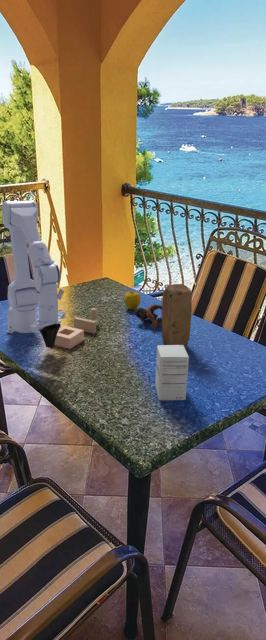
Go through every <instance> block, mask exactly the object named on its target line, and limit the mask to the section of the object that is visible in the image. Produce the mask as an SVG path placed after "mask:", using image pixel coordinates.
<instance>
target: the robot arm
mask: <svg viewBox="0 0 266 640" xmlns="http://www.w3.org/2000/svg"><path fill="white" fill-rule="evenodd" d="M38 216H39V209H38V205H37V203H36V202H35V200H33V199H30V200H17V201H16V200H14V201H12V200H11V201H9V200H7V201H6V200H5V201H3V203H2V205H1V217H2V224H3V226H4V228H6V229H8V230H9V234H10V242H11V243H10V244H11V253H12V261H13V269H14V277H15V278H14V280H13V281H12V282H11V283H10V284H9V285H8V286H7V300H8V301H7V302H8V305H9V308H8V309H7V312H6V320H7V329H8V330H6V333H9V334H13V333H15V332H17V333H20V334H31V333H34V334H37V333H40V334H41V336H42V339H43V342H44V345H45V347H46V348H48V349H52V348H54V347H55V345H54V344H55V339H56V336H57V333H58V331H59V329H60V327H61V326H62V325H61V323H62V319H65V318H66V311H64V310H62V311H61V310H59V299H58V284H59V283H60V282H61V271H60V267H59V265H58V263H56V261H55V260H53V259H52V256H51V254H50V251H49V249H48V246H47V245H46V243H44V242H42V241H41V237H40V234H39V233H40V232H39V230H38V227H37V222H38ZM29 260H30V262H31V264H32V267H33V273H32V276H33V279H34V280H33V279H32V278H31V271H30V263H29ZM37 310H38V318H37Z"/></svg>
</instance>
